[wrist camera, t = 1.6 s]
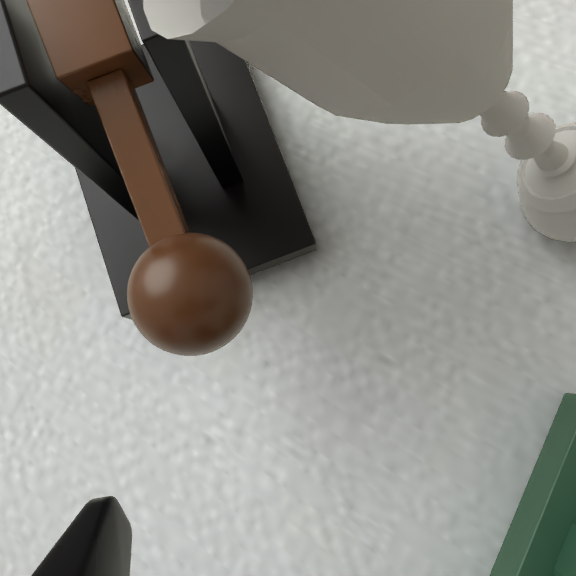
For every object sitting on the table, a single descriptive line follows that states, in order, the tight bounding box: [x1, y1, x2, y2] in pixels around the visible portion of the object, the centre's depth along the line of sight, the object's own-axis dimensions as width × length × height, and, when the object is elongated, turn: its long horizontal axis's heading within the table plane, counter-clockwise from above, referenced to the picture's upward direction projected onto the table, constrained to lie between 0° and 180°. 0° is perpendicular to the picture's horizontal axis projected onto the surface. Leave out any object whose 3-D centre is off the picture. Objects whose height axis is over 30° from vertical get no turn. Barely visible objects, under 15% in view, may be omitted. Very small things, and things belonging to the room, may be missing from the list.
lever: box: [26, 0, 253, 356], centre depth 15 cm, size 11×4×4 cm, turn 20°
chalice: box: [143, 0, 576, 242], centre depth 16 cm, size 7×7×18 cm
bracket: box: [0, 0, 316, 319], centre depth 19 cm, size 12×9×12 cm
